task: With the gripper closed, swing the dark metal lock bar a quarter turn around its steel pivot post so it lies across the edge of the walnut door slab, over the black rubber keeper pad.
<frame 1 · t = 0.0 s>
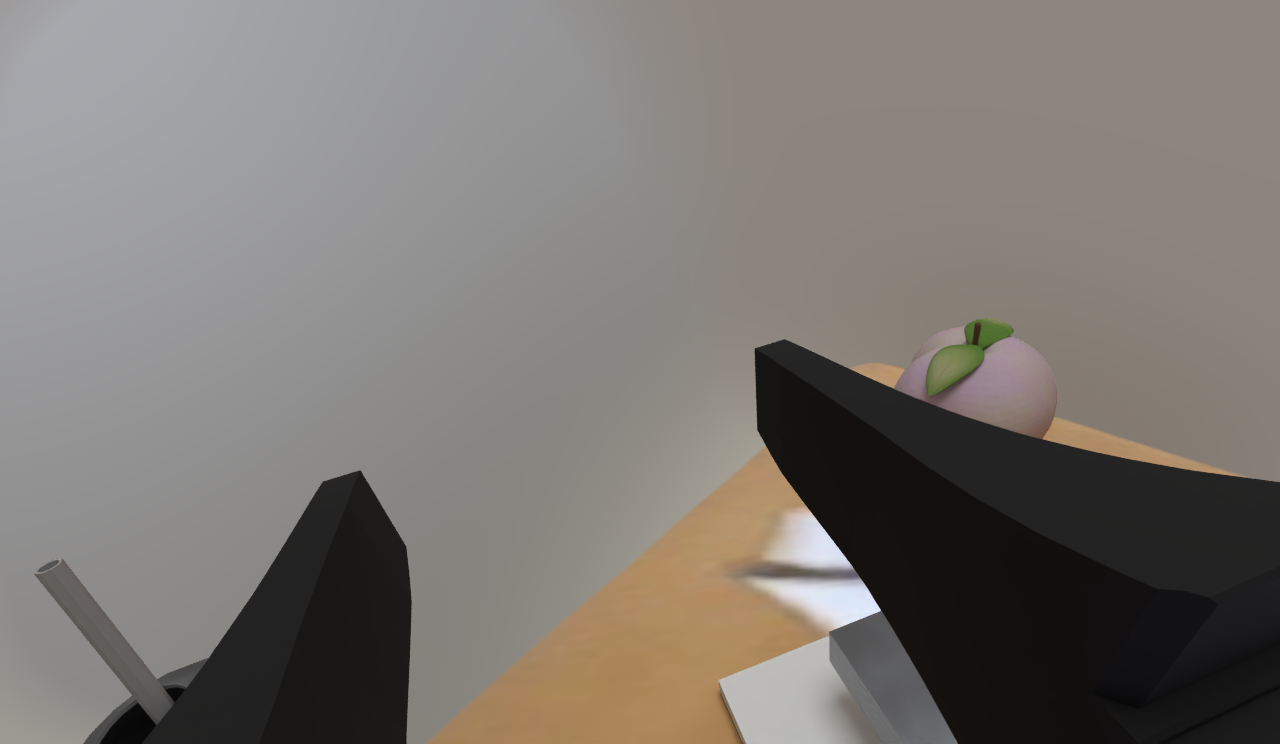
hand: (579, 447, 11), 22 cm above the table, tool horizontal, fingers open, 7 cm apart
decorative fruit: (963, 462, 39), on the table
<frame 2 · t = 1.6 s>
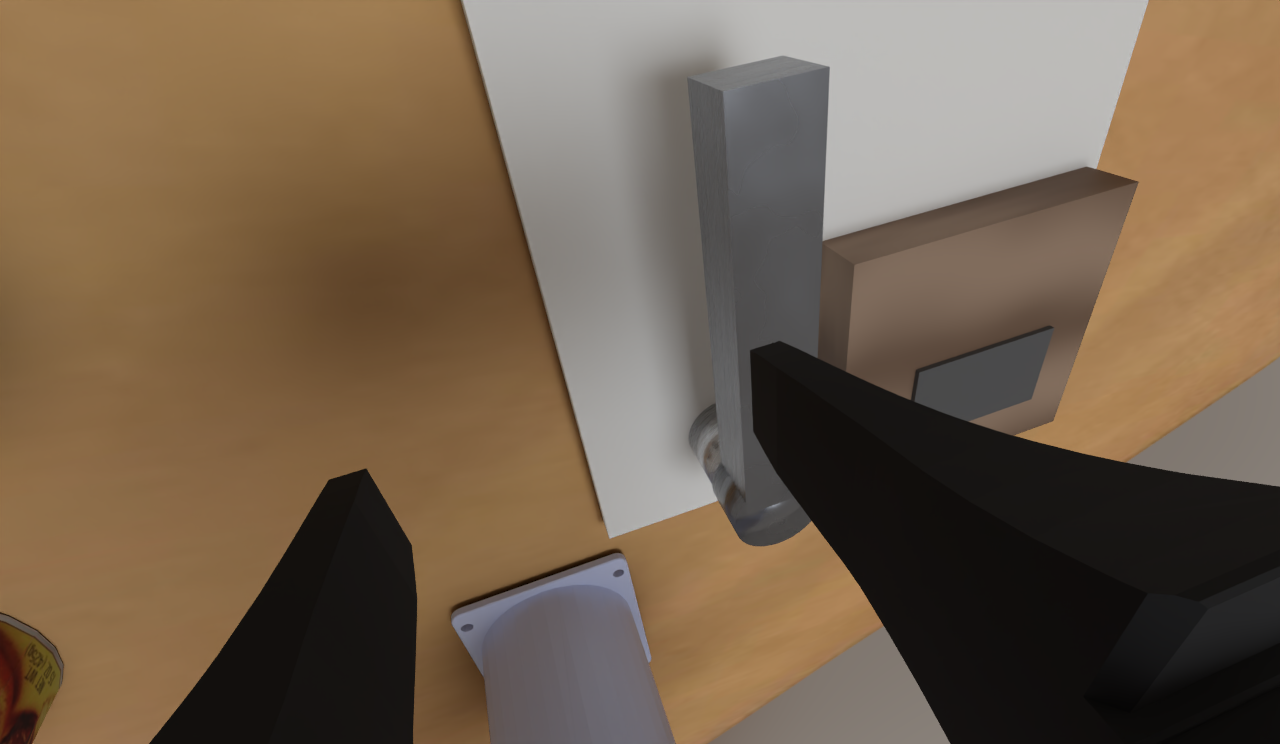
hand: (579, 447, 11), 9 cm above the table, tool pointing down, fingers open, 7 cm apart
lock bar: (762, 354, 17), point 5 cm above the table, hinge at 0.0°
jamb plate: (829, 250, 22), on the table
pivot post: (713, 414, 25), resting on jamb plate
keeper pad: (924, 346, 26), resting on door slab
door slab: (919, 320, 25), resting on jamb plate
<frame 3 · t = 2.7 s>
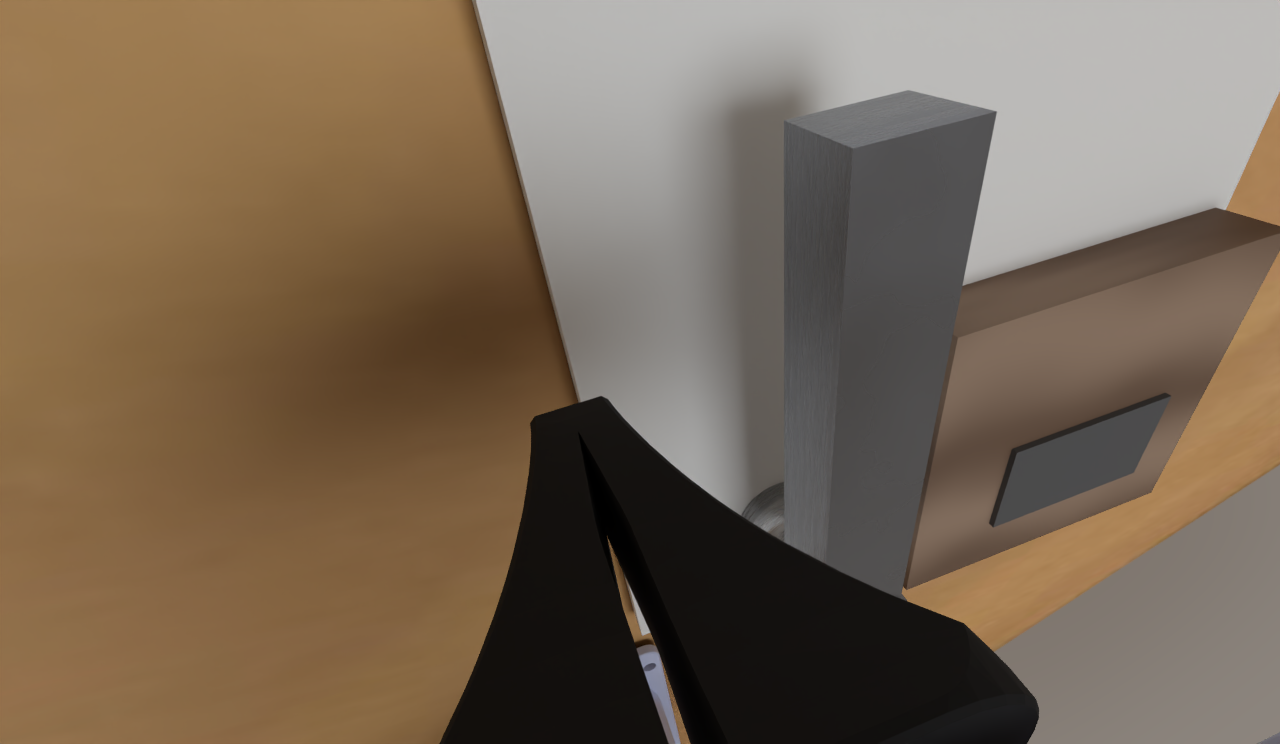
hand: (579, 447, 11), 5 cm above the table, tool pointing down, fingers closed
lock bar: (852, 457, 14), point 5 cm above the table, hinge at 0.0°
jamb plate: (909, 308, 18), on the table
pivot post: (765, 493, 21), resting on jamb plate
keeper pad: (1005, 408, 23), resting on door slab
door slab: (1002, 381, 22), resting on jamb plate
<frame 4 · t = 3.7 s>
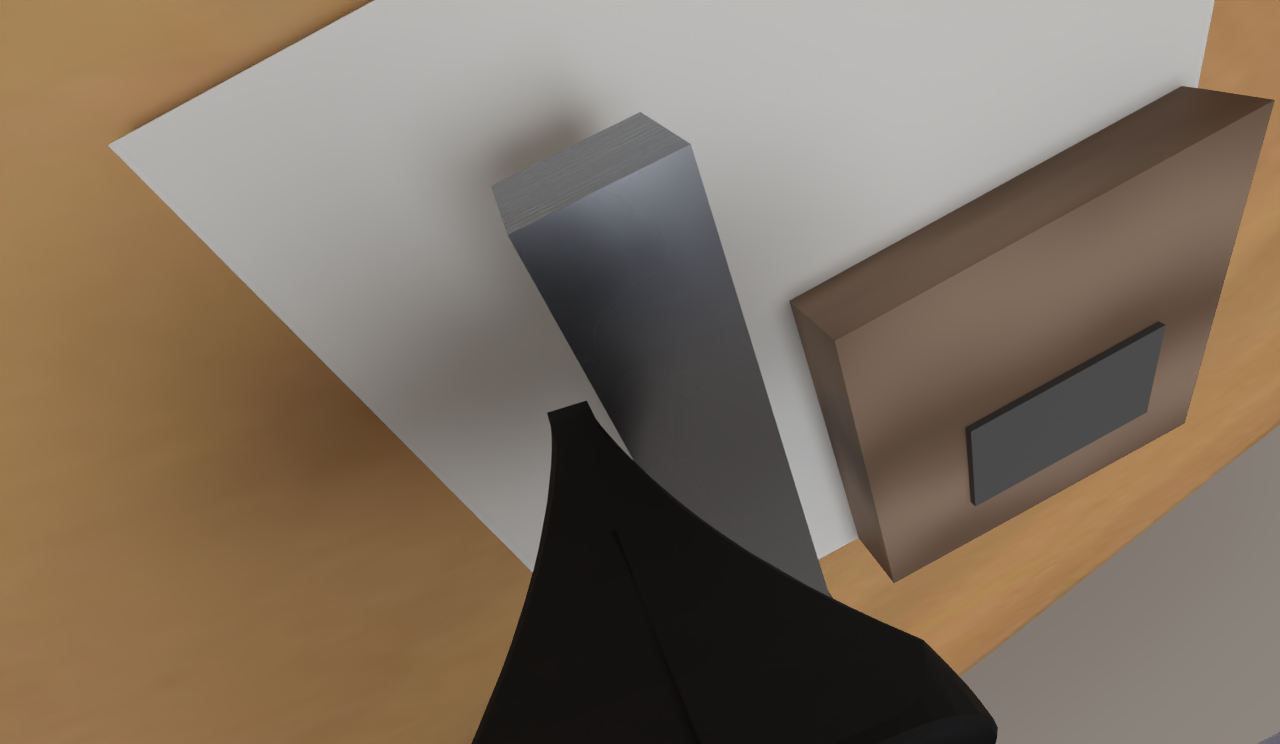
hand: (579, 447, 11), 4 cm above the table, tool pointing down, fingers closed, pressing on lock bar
lock bar: (727, 503, 12), point 5 cm above the table, hinge at -2.3°, touching gripper
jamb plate: (811, 295, 16), on the table
keeper pad: (981, 363, 20), resting on door slab
door slab: (966, 337, 19), resting on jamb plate
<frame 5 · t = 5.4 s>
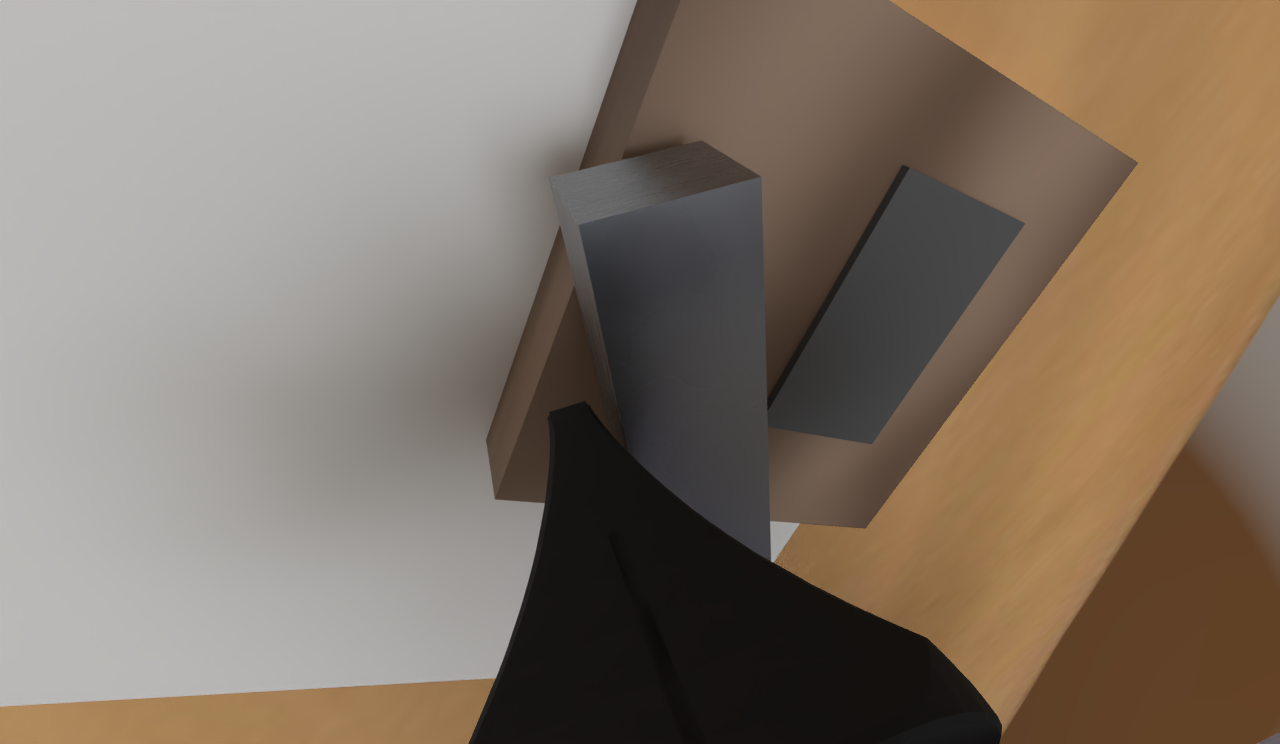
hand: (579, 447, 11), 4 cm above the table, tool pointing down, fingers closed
lock bar: (696, 530, 13), point 5 cm above the table, hinge at -58.1°, touching gripper
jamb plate: (532, 388, 15), on the table
keeper pad: (811, 269, 16), resting on door slab
door slab: (756, 272, 15), resting on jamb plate
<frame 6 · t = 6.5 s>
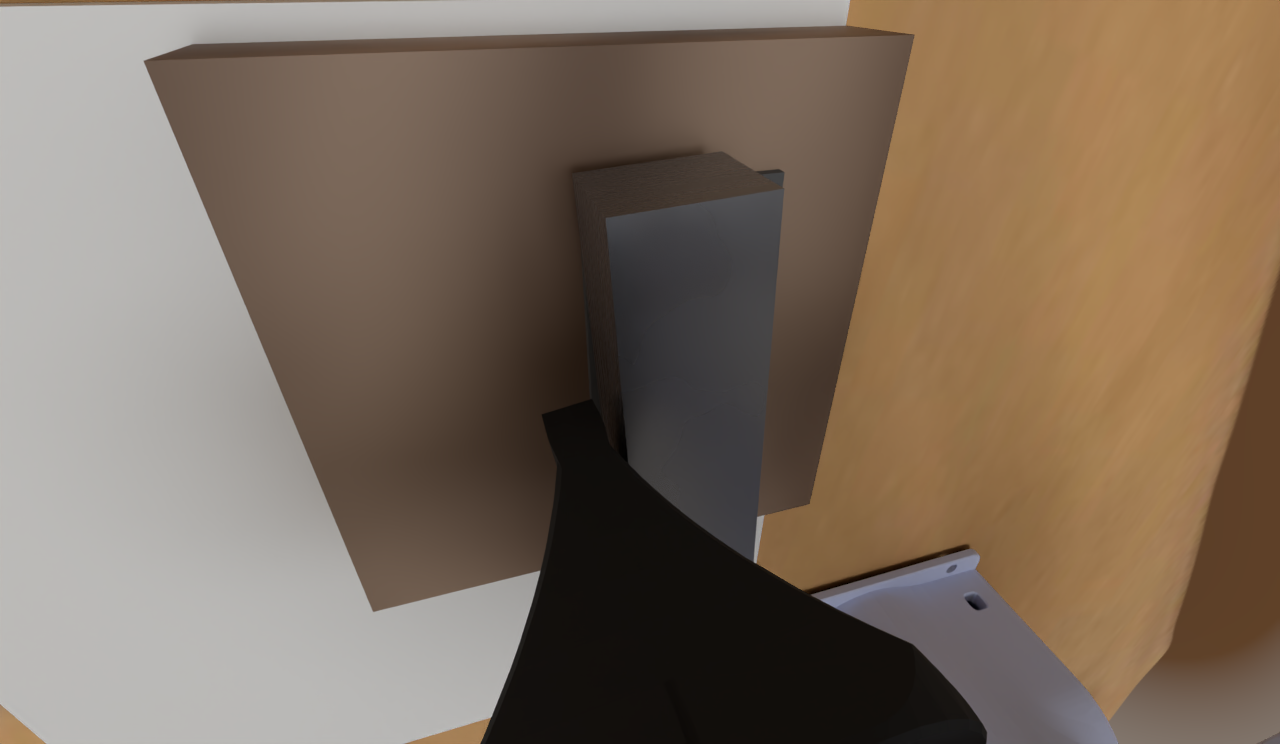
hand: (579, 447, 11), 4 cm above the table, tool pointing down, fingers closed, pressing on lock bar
lock bar: (680, 538, 13), point 5 cm above the table, hinge at -86.7°, touching gripper
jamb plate: (411, 479, 15), on the table
keeper pad: (632, 271, 14), resting on door slab
door slab: (571, 299, 14), resting on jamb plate
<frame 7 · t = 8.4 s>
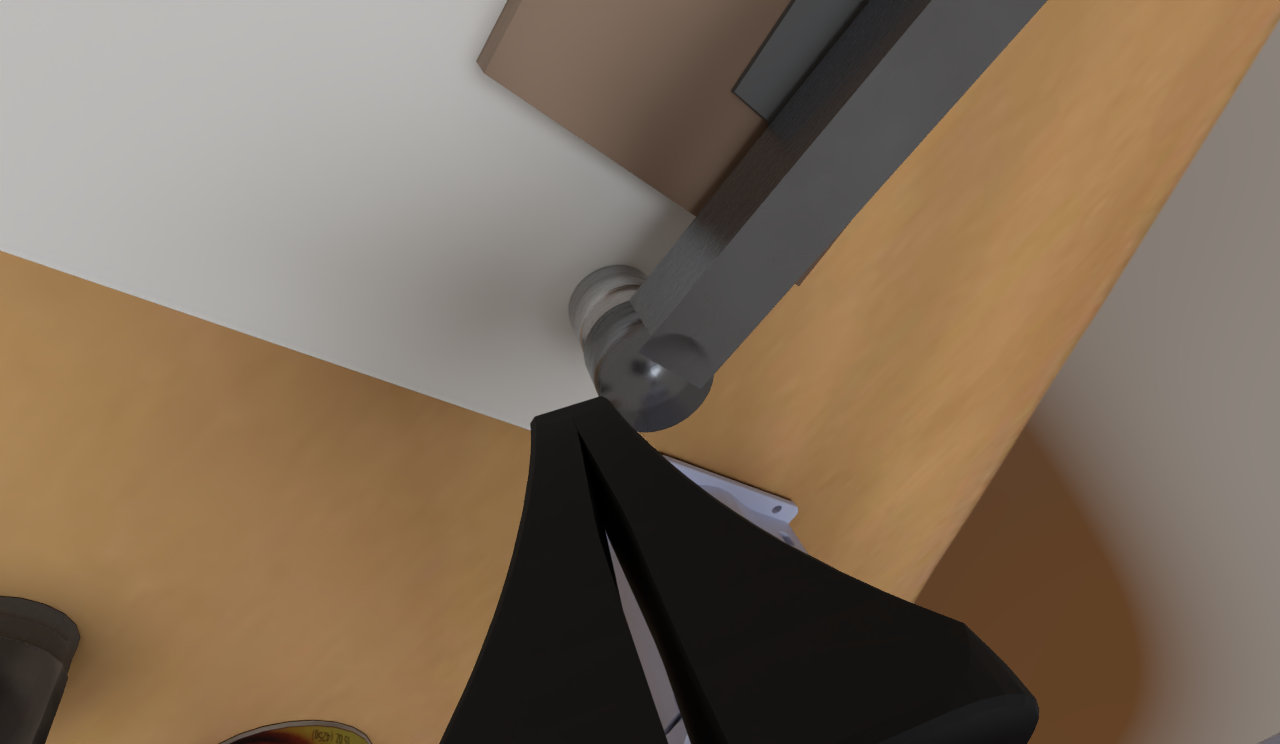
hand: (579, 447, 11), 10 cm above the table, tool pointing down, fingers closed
lock bar: (793, 193, 15), point 5 cm above the table, hinge at -94.6°
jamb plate: (525, 44, 16), on the table
pivot post: (605, 293, 20), resting on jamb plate
keeper pad: (793, 15, 17), resting on door slab
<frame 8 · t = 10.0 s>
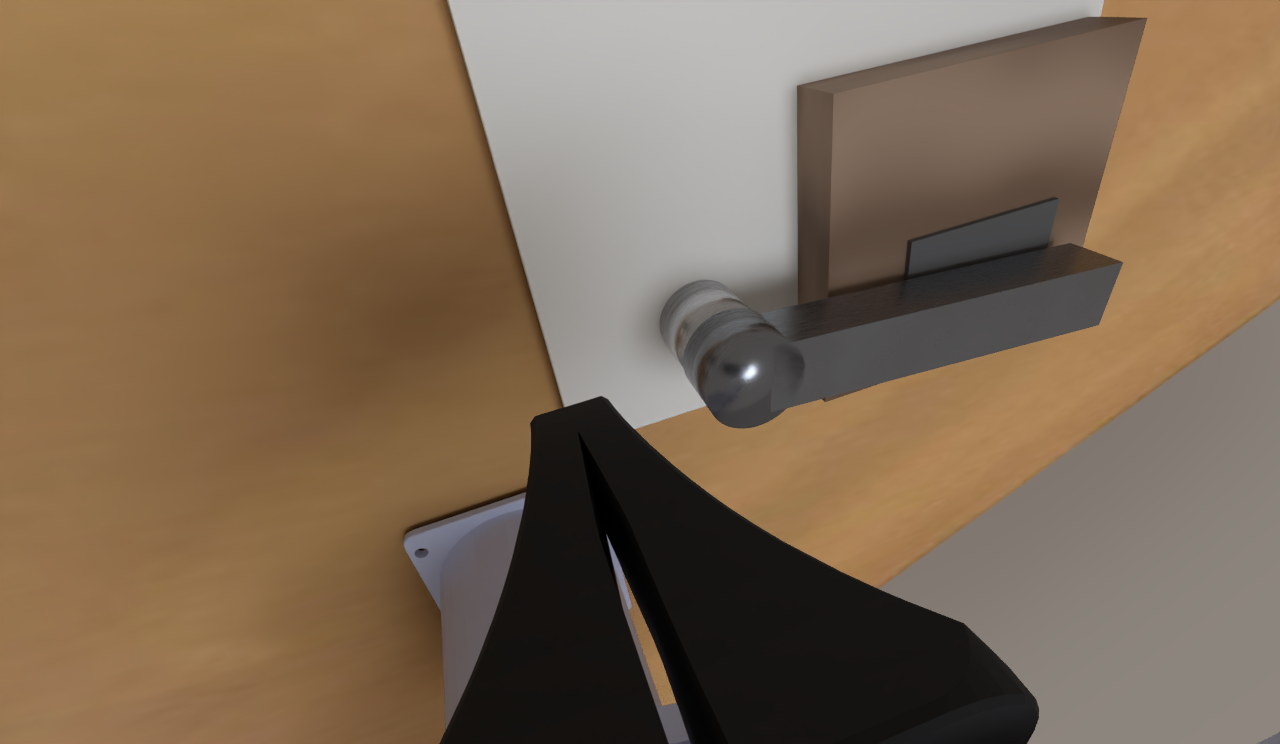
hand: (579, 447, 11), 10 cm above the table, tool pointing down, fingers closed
lock bar: (905, 327, 20), point 5 cm above the table, hinge at -94.6°
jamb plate: (808, 108, 20), on the table
pivot post: (688, 306, 22), resting on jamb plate
keeper pad: (918, 239, 24), resting on door slab
door slab: (911, 206, 23), resting on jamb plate
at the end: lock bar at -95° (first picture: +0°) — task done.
